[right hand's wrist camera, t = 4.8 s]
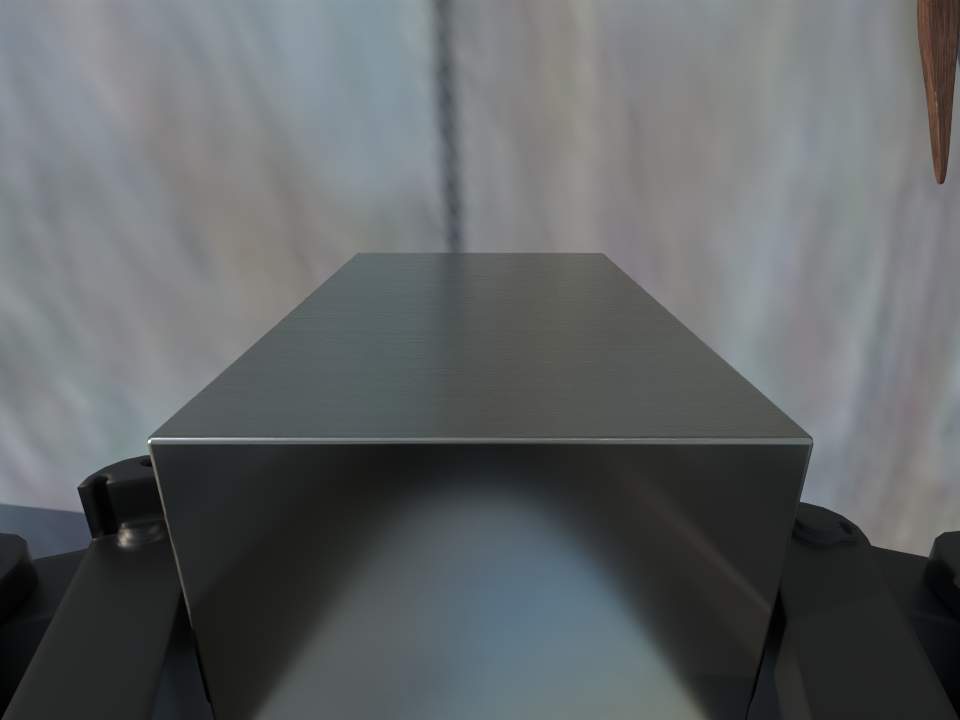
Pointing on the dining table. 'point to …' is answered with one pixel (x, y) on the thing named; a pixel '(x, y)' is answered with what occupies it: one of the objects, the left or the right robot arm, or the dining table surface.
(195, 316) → the dining table surface
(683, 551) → the bar
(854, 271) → the dining table surface
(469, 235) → the dining table surface
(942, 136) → the fork
